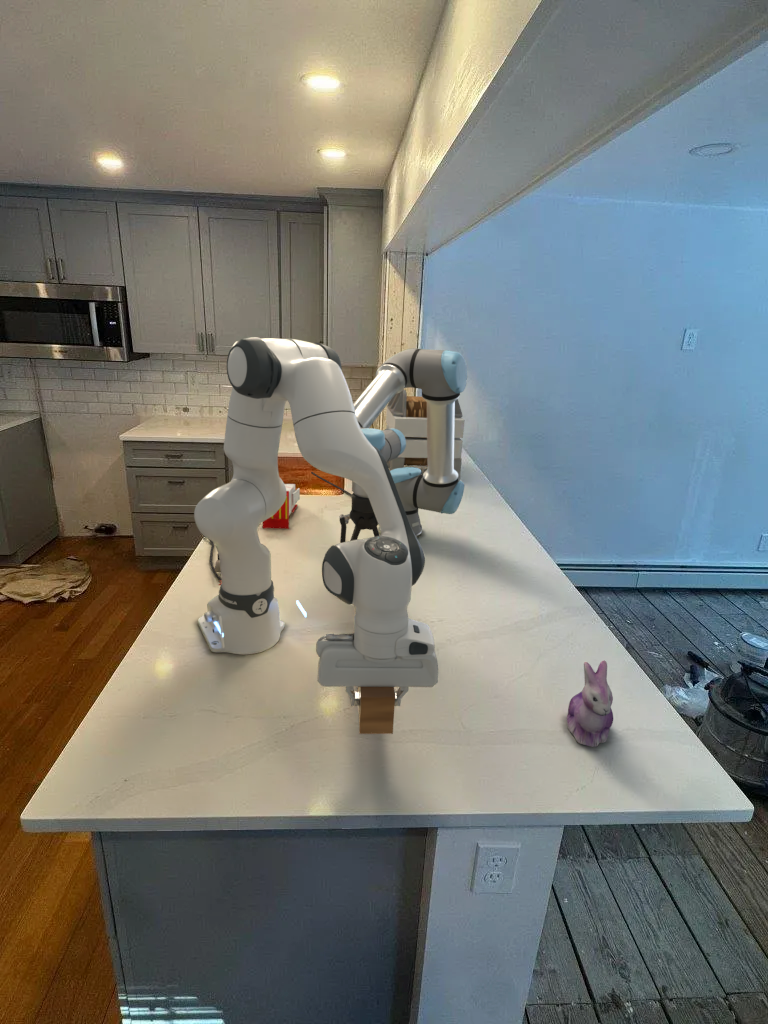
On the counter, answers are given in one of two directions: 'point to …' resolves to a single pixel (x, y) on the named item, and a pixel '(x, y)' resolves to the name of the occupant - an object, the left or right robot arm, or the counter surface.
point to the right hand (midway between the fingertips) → (364, 577)
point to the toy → (284, 509)
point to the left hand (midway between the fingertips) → (375, 703)
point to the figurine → (591, 708)
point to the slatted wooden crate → (418, 430)
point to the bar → (376, 710)
